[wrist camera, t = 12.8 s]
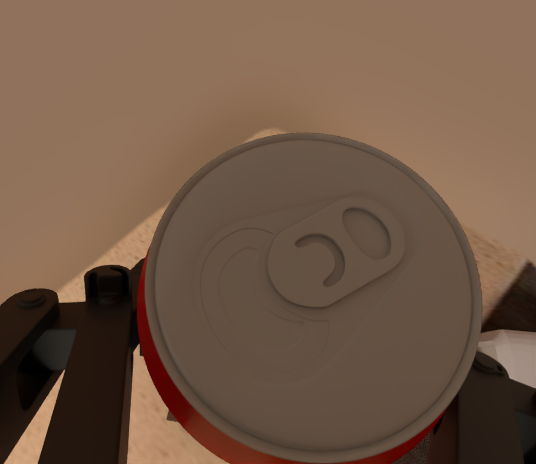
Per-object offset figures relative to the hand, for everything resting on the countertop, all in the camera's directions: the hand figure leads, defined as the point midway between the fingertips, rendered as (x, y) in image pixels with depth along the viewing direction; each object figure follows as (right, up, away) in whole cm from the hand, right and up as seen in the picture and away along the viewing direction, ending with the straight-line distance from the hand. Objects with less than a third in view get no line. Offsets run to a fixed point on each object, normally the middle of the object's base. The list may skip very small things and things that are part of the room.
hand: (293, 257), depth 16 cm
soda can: (-1, -5, +4) cm, 7 cm away
